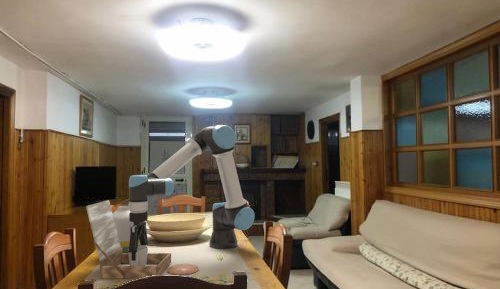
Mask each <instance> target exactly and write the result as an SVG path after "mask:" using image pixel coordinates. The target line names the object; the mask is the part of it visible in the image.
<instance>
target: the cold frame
mask: <svg viewBox="0 0 500 289" xmlns="http://www.w3.org/2000/svg"><path fill="white" fill-rule="evenodd" d="M111 206H112V205H111V203H110V200H109V199H108V200H104V201H100V202H97V203H93V204H88V205H85V208H86V212H87V216H88V221H89V225H90V229H91V232H92V235H93V244H94V247H95V249H96V253H97V256H98V261H99V279H143V278H142V277H146V276H152V275H161V276H162V275H163V274H164V272H165V271H167V270H166V269H167V268H169V267H170V265H171V264H170V263H172V252H148V253H147V263H146V264H157V265H146V266H130V265H121V264H130V263H129V254H128V253H123V248H121V245H120V242H119V238H118V234H117V230H116V226H115V222H114V218H113V210H112V207H111Z"/></svg>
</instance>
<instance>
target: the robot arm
mask: <svg viewBox="0 0 500 289" xmlns="http://www.w3.org/2000/svg"><path fill="white" fill-rule="evenodd" d="M236 142H237V136H236V133H235V130H234V129H233V128H232V127H230V126H229V125H225V124H224V125H223V124H218V125H212V126H207V127H204V128H201V130H199V131H198V132H197V133H195V134H194V135H192V136H191V137H190V138H189V139H187V143H186V144H185V145H184V146H183V147H181V148H180V149H179V150H177V152H176V151H175V153H174V154H172V155H171V156H170V157H169V158H168V159H167V160H165V161H163V163H162V164H160V165H159V166H158V167H156V168H155V169H154V170H153V171H152V172H150V173H149V174H135V175H130V176H129V179H128V192H129V193H128V196H129V197H128V198H129V199H128V200H129V201H128V204H127V206H129V211H130V213H129V221H130V222H133V223H134V224H133V227H131V228H130V242H129V251H128V252H129V253H131V266H138V252H137V248H138V242H139V241H140V246H148V245H149V239H148V232H147V231H148V230H147V221H148V219H149V217H148V216H149V214H148V213H149V212H148V208H149V206H148V205H149V204H148V203H149V202H148V200H149V199H148V197H149V198H150V197H160V196H162V197H163V196H164V197H165V196H169V195H172V194H173V193H174V191H175V183H174V180H173V179H172V178H171V177H172V176H174V175H175V174H176V173H177V172H178V171H179V170H181V169H182V168H183V167H184V166H185V165H187V164H188V163H189V162H190V161H191V160H192V159H194V158H195V157H196V156H197V155H199V156H200V155H202V154H203V153H205V152H206V151H209V150H210V154H211V156H212V157H215V158H214V159H215V160H216V165H217V168H218V174H219V177H220V180H221V181H220V182H221V184H222V189H223V193H224V197H225V202H217V203H216V202H215V203H213V205H212V232H211V236H210V239H209V242H208V243H209V244H208V245H209V247H210V248H213V249H230V248H231V249H232V248H235V247H236V248H237V246H238V238H237V236H236V233H235V230H238V231H245V230H248V229H249V228H251V227H252V226H253V224H254V221H255V218H256V217H255V216H256V215H255V211H254V210H253V209H252V208H251V207H249V206H248V205H249V204H248V200H247V199H245V198H244V196H243V193H242V188H241V184H240V181H239V176H238V172H237V168H236V164H235V158H234V155H233V152H234V151H235V147H234V146H236Z"/></svg>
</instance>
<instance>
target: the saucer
mask: <svg viewBox="0 0 500 289" xmlns="http://www.w3.org/2000/svg"><path fill="white" fill-rule="evenodd" d="M199 268H200V267H199V266H198V265H196V264H190V263H189V264H188V263H184V264H183V263H182V264H175V265H171V266H168V267H167V268H166V269H167V270H166V272H167V273H168V274H170V275H175V276H184V275H185V276H186V275H191V274H196V273H197V272H198V271H199Z"/></svg>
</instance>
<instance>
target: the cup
mask: <svg viewBox="0 0 500 289" xmlns="http://www.w3.org/2000/svg"><path fill="white" fill-rule="evenodd" d="M148 250H149V247H148V245H146V246H138V248H137V252H138V266H147V264H148V263H147V253H149V252H148ZM128 251H129V249H128ZM128 254H129V263H128V264H129V266H131V253H129V252H128Z"/></svg>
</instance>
